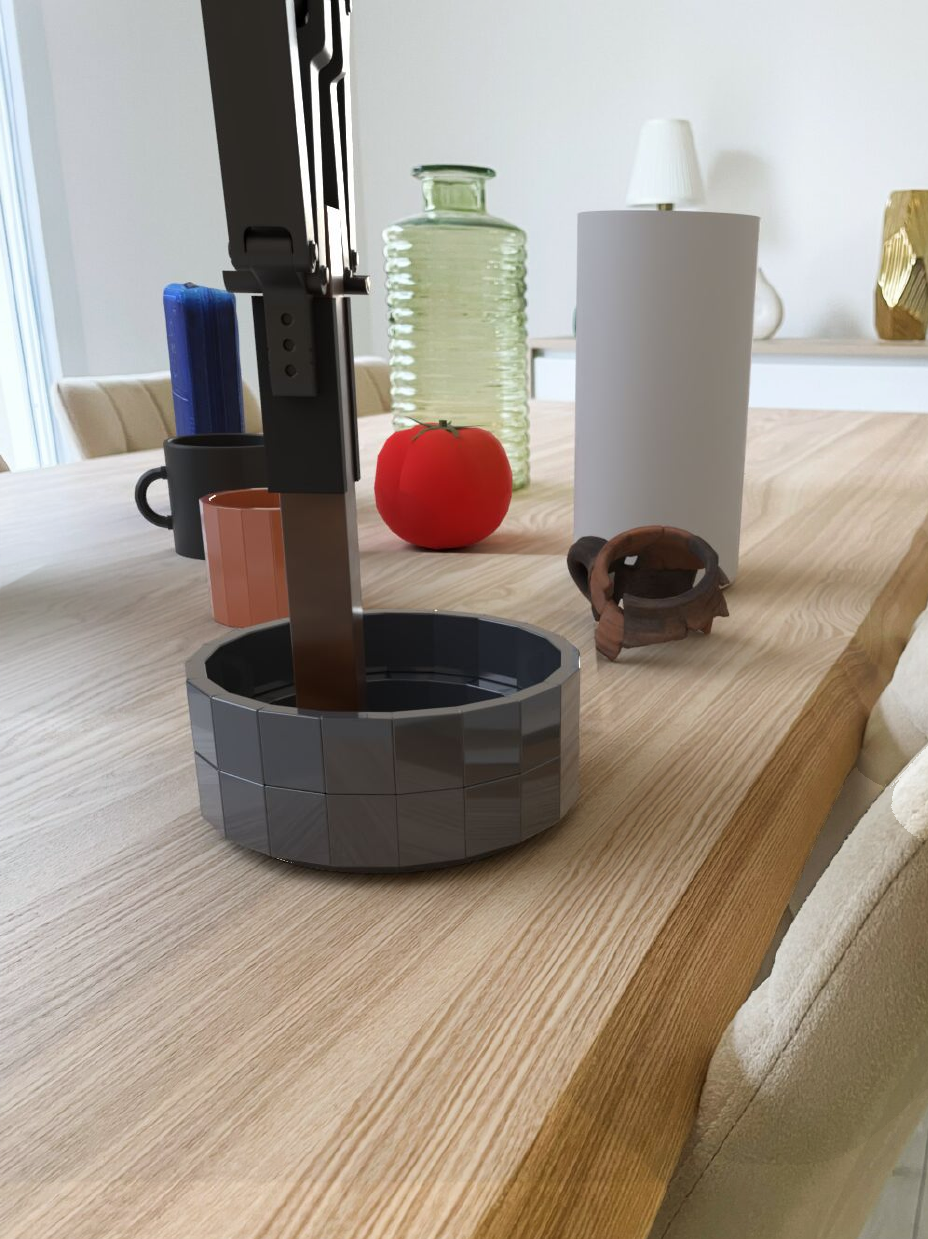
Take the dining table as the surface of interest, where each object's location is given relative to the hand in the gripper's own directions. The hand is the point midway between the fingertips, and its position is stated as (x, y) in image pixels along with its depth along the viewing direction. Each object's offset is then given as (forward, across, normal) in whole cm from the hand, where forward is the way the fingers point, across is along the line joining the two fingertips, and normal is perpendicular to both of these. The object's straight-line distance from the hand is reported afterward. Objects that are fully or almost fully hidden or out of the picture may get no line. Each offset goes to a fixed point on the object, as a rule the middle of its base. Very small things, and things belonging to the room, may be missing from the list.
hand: (316, 484), depth 45 cm
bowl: (+13, +1, -2) cm, 14 cm away
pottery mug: (+14, +27, -14) cm, 33 cm away
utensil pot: (+13, +30, +9) cm, 34 cm away
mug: (+13, +50, +18) cm, 55 cm away
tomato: (+13, +57, +1) cm, 59 cm away
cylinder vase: (+14, +45, -16) cm, 50 cm away
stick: (+11, 0, 0) cm, 11 cm away
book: (+13, +71, +24) cm, 76 cm away
